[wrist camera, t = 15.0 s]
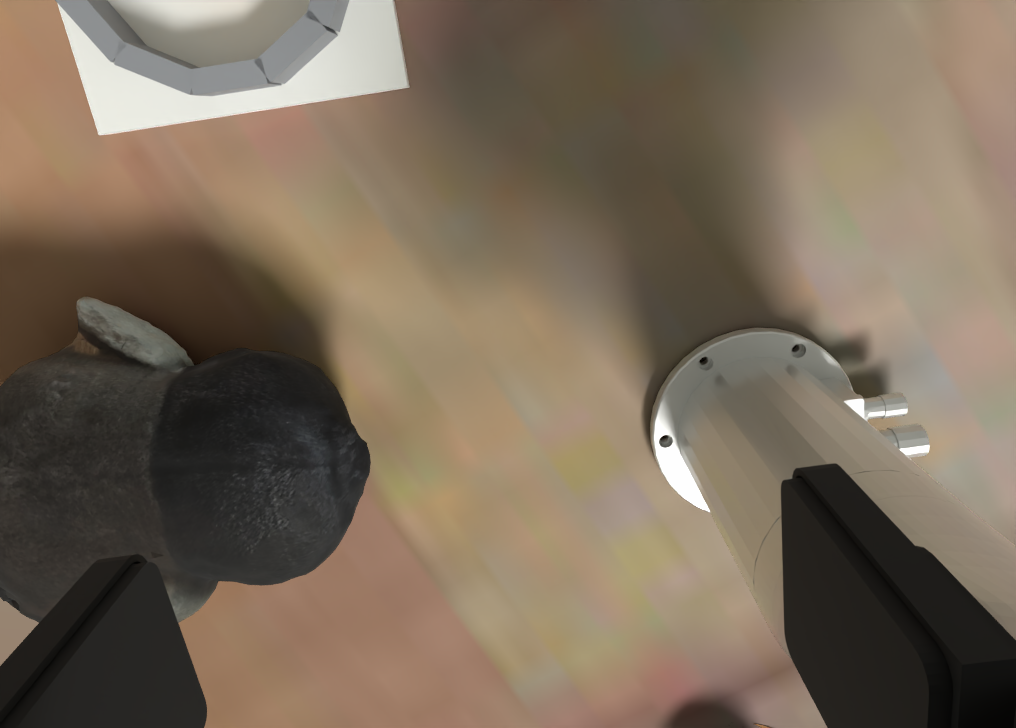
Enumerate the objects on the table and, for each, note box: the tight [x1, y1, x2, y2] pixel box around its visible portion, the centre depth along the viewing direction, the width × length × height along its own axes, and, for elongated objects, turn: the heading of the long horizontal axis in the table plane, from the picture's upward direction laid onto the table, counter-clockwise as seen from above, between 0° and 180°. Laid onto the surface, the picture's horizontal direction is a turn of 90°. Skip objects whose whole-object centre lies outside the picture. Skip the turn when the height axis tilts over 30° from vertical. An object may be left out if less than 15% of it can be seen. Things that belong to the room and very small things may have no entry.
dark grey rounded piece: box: [0, 296, 371, 623], centre depth 41 cm, size 20×21×13 cm
